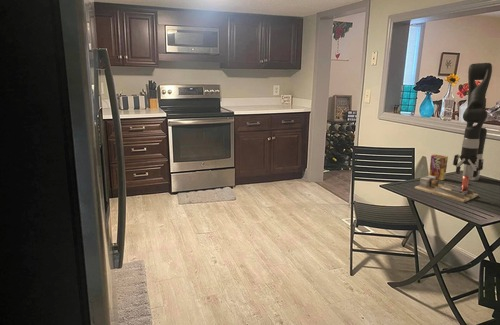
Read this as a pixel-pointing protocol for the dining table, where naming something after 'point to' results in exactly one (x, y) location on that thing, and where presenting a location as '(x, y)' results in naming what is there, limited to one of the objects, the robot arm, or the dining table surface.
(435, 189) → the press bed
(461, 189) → the plate with copper rod
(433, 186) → the nut
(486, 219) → the dining table surface
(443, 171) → the candy box
